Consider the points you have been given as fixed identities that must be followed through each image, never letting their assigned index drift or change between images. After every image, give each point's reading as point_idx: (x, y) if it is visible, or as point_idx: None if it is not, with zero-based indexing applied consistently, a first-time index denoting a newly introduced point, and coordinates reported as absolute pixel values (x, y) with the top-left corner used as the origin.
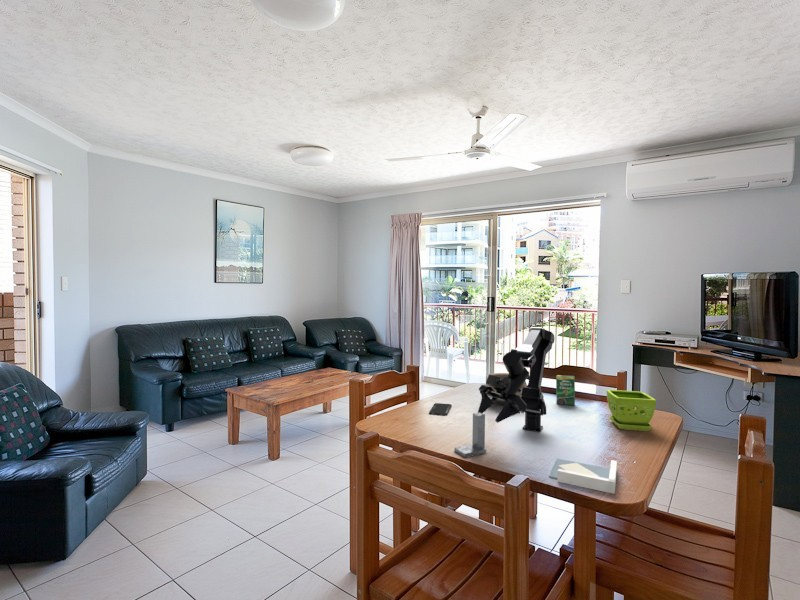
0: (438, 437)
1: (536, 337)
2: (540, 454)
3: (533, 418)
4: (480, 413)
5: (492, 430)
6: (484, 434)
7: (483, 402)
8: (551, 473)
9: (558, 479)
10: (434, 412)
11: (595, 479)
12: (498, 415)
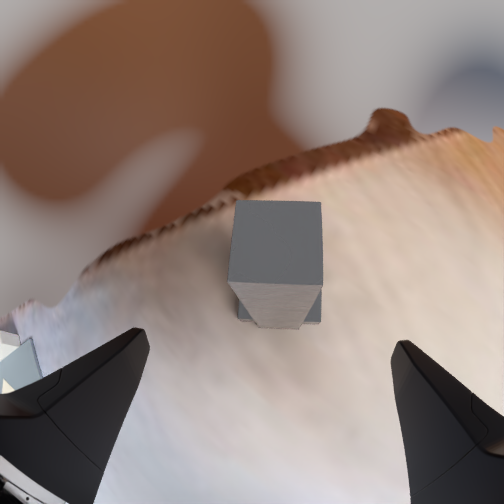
0: (455, 245)
1: None
2: (129, 476)
3: None
4: (285, 266)
5: None
6: (251, 314)
7: (454, 421)
8: (32, 358)
9: (13, 334)
10: None
11: None
12: (109, 353)
